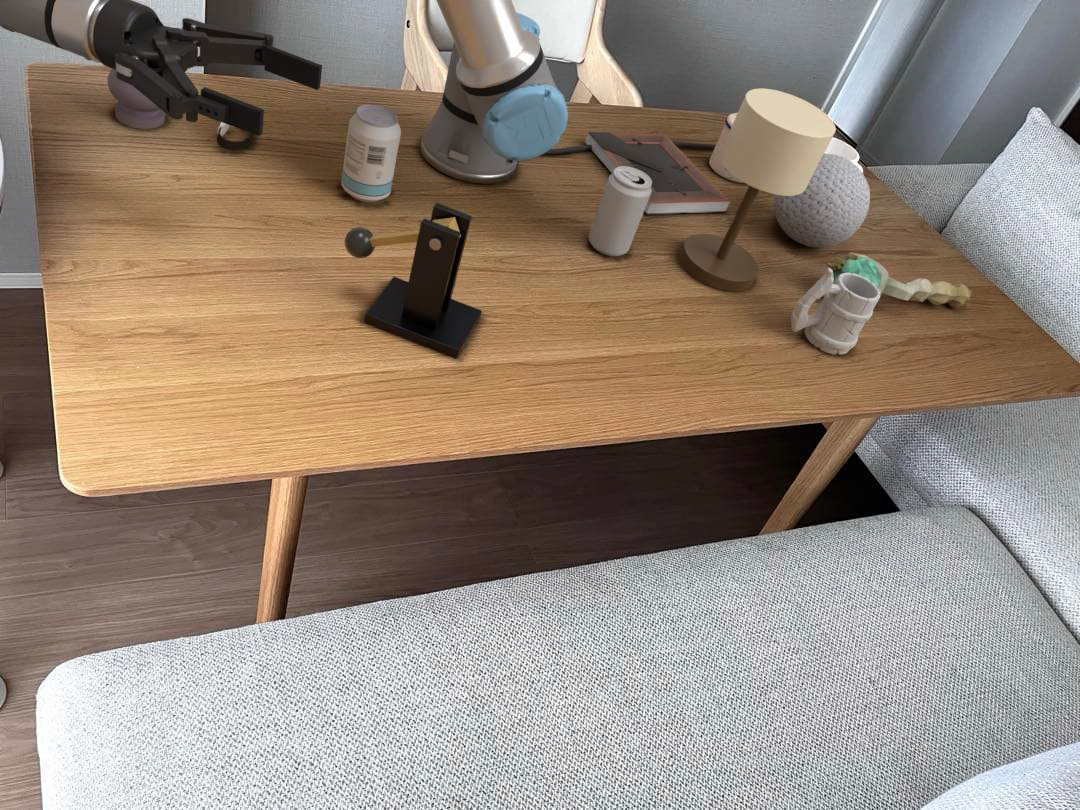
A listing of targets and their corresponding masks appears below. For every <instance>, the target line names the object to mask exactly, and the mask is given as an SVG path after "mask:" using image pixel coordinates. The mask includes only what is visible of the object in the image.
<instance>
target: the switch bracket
mask: <svg viewBox="0 0 1080 810" xmlns="http://www.w3.org/2000/svg"><path fill="white" fill-rule="evenodd" d="M452 217H455V219H456V222H457V225H458V228H459V231H460V232H458V231H456V230H453V229H451V228H448V227H446V226H443V225H440V224H438V223H435V222H433V220H437V219H445V218H452ZM472 218H473V216H472V215H470V214H467V213H465V212H462V211H460V210H458V209H454V208H453V207H449V206H447V205H444V204H441V203H439V202H435V204H434V205H433V207H432V211H431V216H430V219H427V218H423V219H422V220H421V222H420V226H419V229H420V230H419V229H418V230H419V235H418V240H417V242H416V245H415V250H414V255H413V259H412V264H411V269H410V274H409V278H408V280H404V279H402V278H399V277H397V276H393V277H392V278H391V279H390V280H389V282H388V283H387V284H386V286H385V287H384V288H383V290H382V292H380V294H379V295H378V297H377V298H376V299H375V300H374V301H373V303H372V304H371V306H370V307H369V308H368V310H367V311H366V312H365V315H364V319H363V323H365V324H368V325H370V326H373V327H376V328H378V329H381V330H383V331H386V332H389V333H391V334H394V335H396V336H399V337H401V338H403V339H406V340H408V341H411V342H414V343H416V344H419V345H422V346H425V347H426V348H429V349H432V350H434V351H437V352H440V353H442V354H445V355H448V356H449V357H452V358H455V359H458V358H459V356H460V354H461V353H462V351H463V349H464V347H465V345H466V344H467V342H468V340H469V338H470V337H471V335H472V334H473V332H474V330H475V328H476V326H477V324H478V323H479V321H480V319H481V317H482V313H483V310H481V309H479V308H476V307H474V306H471V305H468V304H466V303H464V302H461V301H458V300H455V299H453V298H452V297H453V294H454V289H455V285H456V281H457V279H458V273H459V269H460V265H461V261H462V258H463V254H464V249H465V246H466V241H467V238H468V233H469V230H470V226H471V221H472ZM460 234H461V237H460Z"/></svg>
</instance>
